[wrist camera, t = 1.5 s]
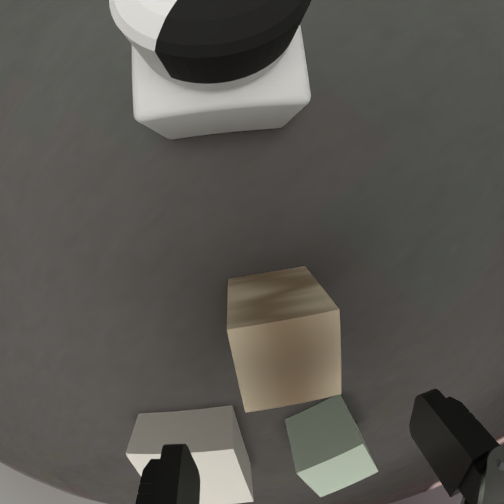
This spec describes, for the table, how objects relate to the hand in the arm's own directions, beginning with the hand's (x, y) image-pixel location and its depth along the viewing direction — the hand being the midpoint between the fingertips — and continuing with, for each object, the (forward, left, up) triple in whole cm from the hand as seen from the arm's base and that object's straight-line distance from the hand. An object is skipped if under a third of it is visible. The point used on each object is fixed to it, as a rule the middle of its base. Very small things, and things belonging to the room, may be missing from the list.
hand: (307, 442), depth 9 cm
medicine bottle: (+1, -15, -12) cm, 19 cm away
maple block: (0, 0, -12) cm, 12 cm away
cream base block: (+8, +12, -12) cm, 19 cm away
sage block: (-3, +12, -12) cm, 17 cm away
